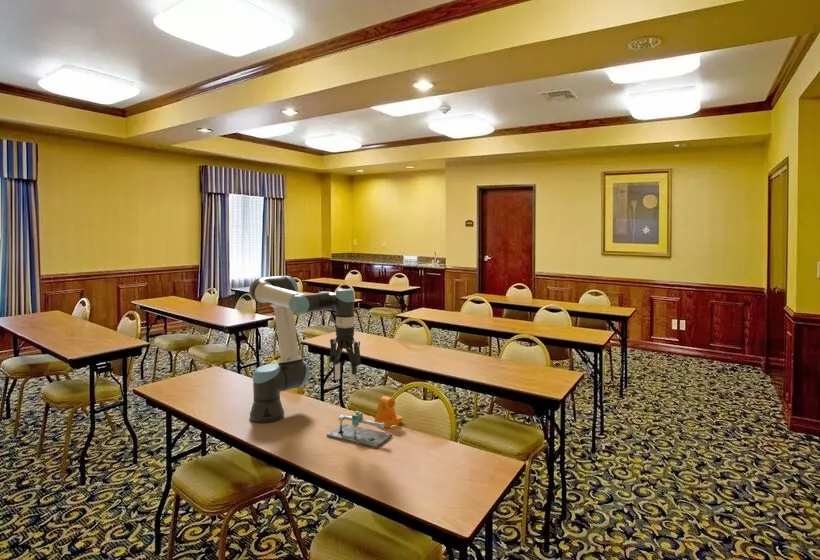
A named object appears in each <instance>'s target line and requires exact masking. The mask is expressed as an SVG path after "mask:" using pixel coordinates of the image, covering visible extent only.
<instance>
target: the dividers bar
mask: <svg viewBox="0 0 820 560" xmlns="http://www.w3.org/2000/svg"><path fill="white" fill-rule="evenodd" d="M344 420H347V421H351V422H352V415H347V414H340V416H338V421H339V427H340V433H342V425H343V421H344ZM359 424H364V425H370V426H374V427H379V428H380V429H384V428H385V427H384V423H383V422H382V423H379V422H375V420H369V419H364V418H363V419H359Z"/></svg>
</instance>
